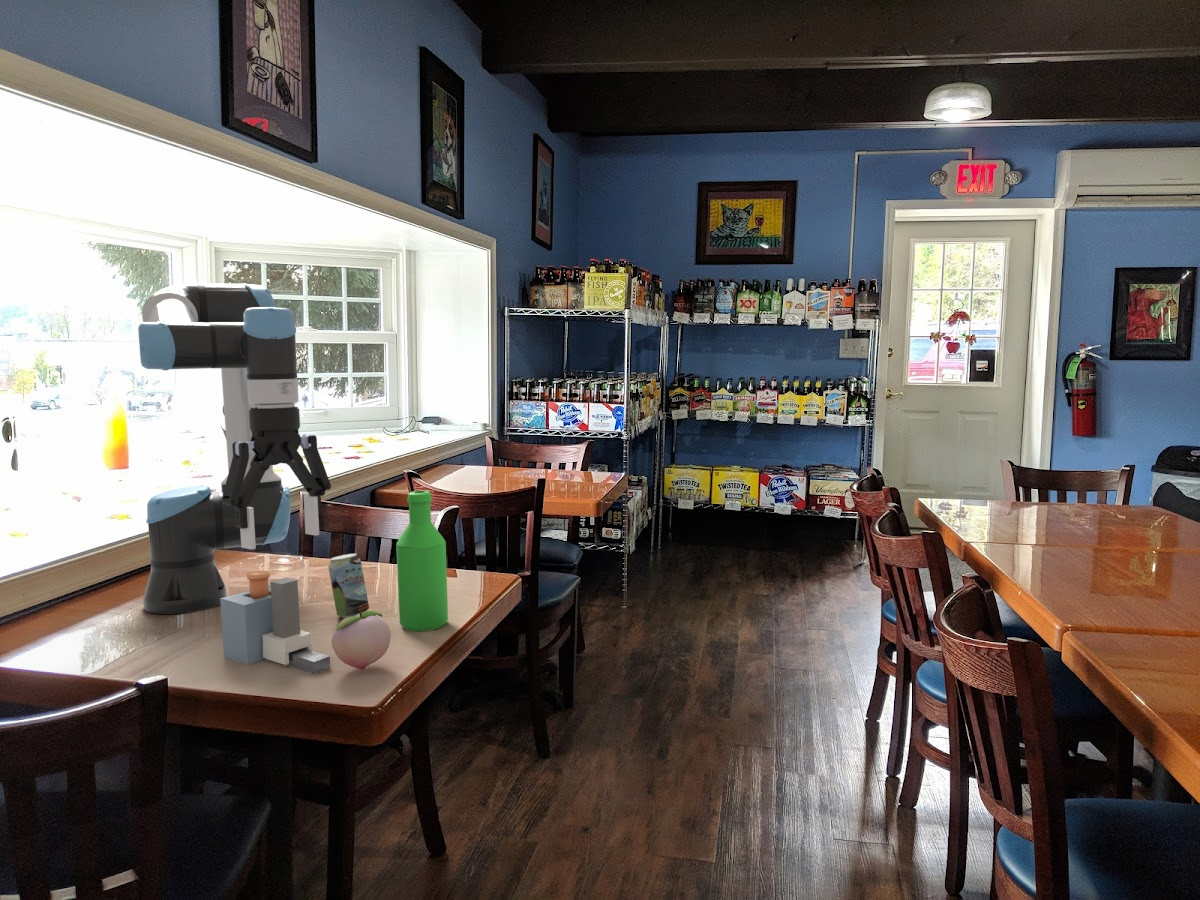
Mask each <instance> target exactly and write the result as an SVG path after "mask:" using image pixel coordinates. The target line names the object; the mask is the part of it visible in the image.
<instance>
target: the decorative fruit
mask: <svg viewBox="0 0 1200 900" xmlns="http://www.w3.org/2000/svg"><path fill="white" fill-rule="evenodd" d="M359 611H360V614H358V615H356V616H353V617H347V618H342V620H341V621H340V622H339V623H338V625H337V627H336V628H335V630H334V631H333V634H332V637H331V646H332V650H333V652H334V654H335V656H336V657H337V658H338V659H339V660H340V661H341V662H343V663H344V664H345V665H347V666H349V667H352V668H355V669H358V670H362V671H364V670H365V668H367V667H368V666H370V665H372V664H374V663H375V662H377V661H378V660H380V659H381V658H382V657H384V656H385V654H386V653H387V651H388V649H389V647H390V644H391V637H392V636H391V629H390V626H389V625H388V623H387V622H386V620H384V619H383V618H381V617H383V614H382V613H381V612H379V611H377V610H376V611H375V610H366V612H363V613H362V609H361V608H360V609H359Z"/></svg>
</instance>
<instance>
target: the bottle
mask: <svg viewBox="0 0 1200 900" xmlns="http://www.w3.org/2000/svg"><path fill="white" fill-rule="evenodd" d="M432 500H433V498H432V495H431V492H430V491H428V490H414V491H410V492H408V495H407V502H408V514H409V518H408V519H409V523H408V524H407V526H406V528H405V529H404V530H403V532H402V534H401V536H400V537H399V539H398V540H397V542H396V567H397V569H396V570H397V591H398V593H397V594H398V616H399V625H400V626H402V627H403V628H404V629H405V630H408V631H411V632H428V631H434V630H436V629H440V628H441V627H443V626H444V625H445V624H446V623H447V621H448V620H449V611H448V610H449V608H448V607H449V606H448V578H447V577H448V574H447V573H448V572H447V546H446V545H447V543H446V540H445V539H444V537H443V536H442V534H441V533H440V532H439V530H438V529H437V528H436V526H435V524H433V522H432V510H431V509H432V508H431V502H432Z"/></svg>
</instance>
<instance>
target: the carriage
mask: <svg viewBox="0 0 1200 900" xmlns="http://www.w3.org/2000/svg"><path fill="white" fill-rule="evenodd" d="M269 586H271V604H272V621H273V632H271V633H268V634H264V635H262V636H263V658H266V659H265V660H268V661H269V660H270V661H272V662H275V663H277V664H282V665H284V666H288V665H287V664H289V653H290V652H293V651H296V650H299V649H302V648H305V649H308V650H311V651H314V650H313V643H312V640H313V639H312V633H311V632H308V631H304V630H301V623H300V622H301V621H300V620H301V618H299V616H300V599H298V598H299V583H298V579H295V578H291V577H286V576H285V577H283V578H278V579H275V580H274V579H273V580H270V582H269Z"/></svg>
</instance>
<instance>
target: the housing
mask: <svg viewBox="0 0 1200 900" xmlns="http://www.w3.org/2000/svg"><path fill="white" fill-rule="evenodd" d="M226 596H227V597H223V598H220V604H219V605H220V616H221V617H220V618H221V630H222V631H221V634H222V645H223V647H222V648H223V649H222V650H223V657H224V658H227V659H230V660H233V661H236V662H239V663H242V664H245V665H247V666H249V665H252V664H255V663H259V662H261V661H264V660H267V659H266V658H263V636H262V635H264V634H268V633H271V632H273V621H272V604H271V586H270V585H269V596H266V597H262V598H258V599H253V598H250V590H247V591H243V592H240V593H236V594H232V595H226ZM298 599H299V597H298ZM299 600H300V599H299ZM299 618H300V615H299ZM300 619H301V618H300Z"/></svg>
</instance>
